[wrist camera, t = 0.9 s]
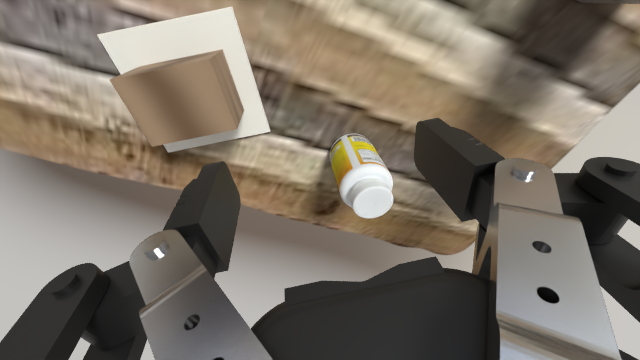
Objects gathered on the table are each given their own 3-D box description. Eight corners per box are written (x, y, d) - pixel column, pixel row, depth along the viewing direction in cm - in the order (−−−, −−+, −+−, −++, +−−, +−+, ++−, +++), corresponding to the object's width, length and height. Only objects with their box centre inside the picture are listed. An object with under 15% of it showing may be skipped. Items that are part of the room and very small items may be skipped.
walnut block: (222, 49, 24) (209, 59, 20) (244, 110, 27) (237, 129, 23) (139, 66, 24) (109, 79, 20) (171, 125, 27) (152, 146, 23)
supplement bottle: (335, 175, 34) (352, 231, 26) (323, 140, 31) (337, 191, 23) (375, 161, 34) (405, 214, 25) (366, 125, 30) (397, 171, 22)
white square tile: (232, 6, 22) (231, 6, 22) (270, 130, 29) (270, 131, 29) (99, 34, 22) (96, 34, 22) (169, 151, 29) (168, 152, 29)
